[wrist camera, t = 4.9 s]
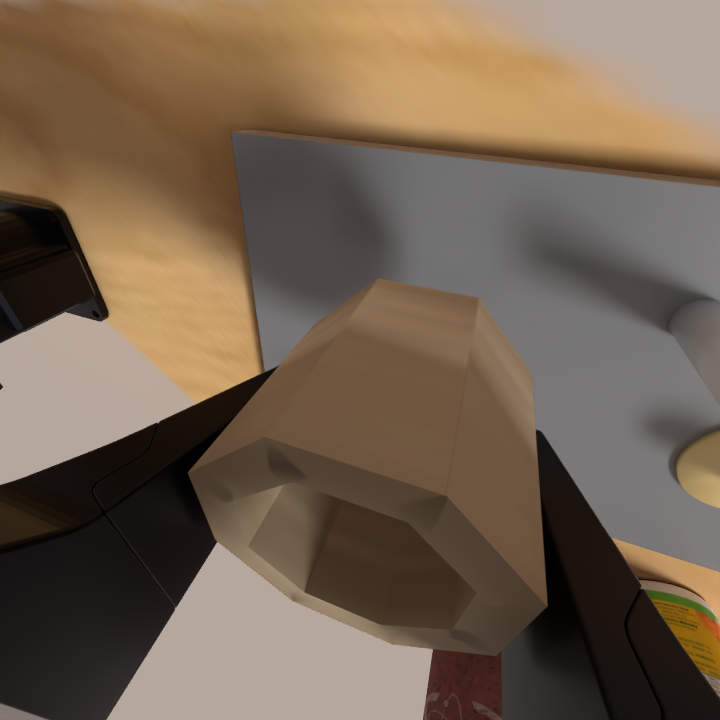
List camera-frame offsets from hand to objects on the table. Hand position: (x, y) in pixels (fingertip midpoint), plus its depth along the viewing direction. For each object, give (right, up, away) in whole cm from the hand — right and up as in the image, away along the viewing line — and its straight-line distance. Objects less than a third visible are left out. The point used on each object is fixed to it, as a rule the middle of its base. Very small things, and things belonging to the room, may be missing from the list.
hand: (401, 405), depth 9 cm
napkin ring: (0, +1, +1) cm, 1 cm away
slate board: (+6, +1, +6) cm, 9 cm away
